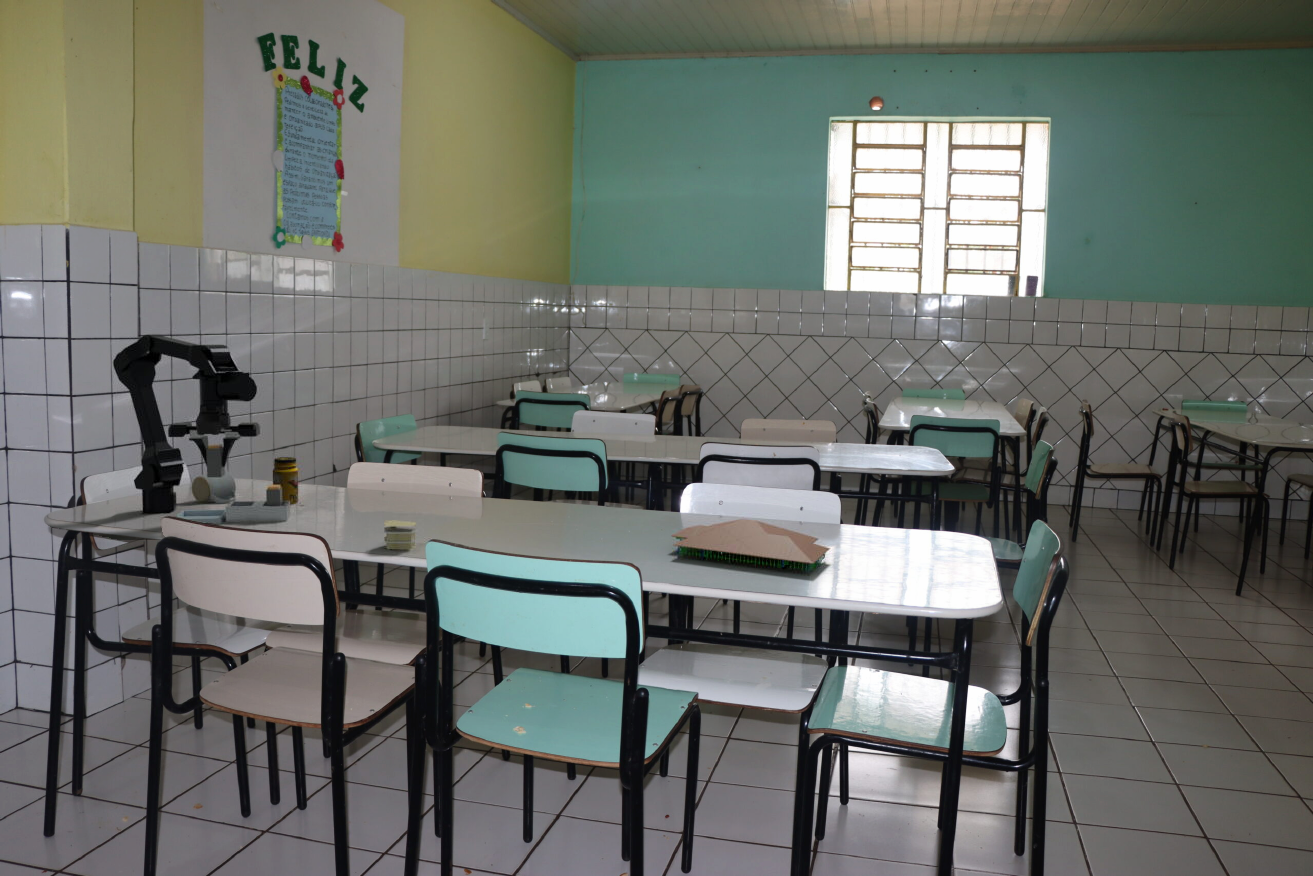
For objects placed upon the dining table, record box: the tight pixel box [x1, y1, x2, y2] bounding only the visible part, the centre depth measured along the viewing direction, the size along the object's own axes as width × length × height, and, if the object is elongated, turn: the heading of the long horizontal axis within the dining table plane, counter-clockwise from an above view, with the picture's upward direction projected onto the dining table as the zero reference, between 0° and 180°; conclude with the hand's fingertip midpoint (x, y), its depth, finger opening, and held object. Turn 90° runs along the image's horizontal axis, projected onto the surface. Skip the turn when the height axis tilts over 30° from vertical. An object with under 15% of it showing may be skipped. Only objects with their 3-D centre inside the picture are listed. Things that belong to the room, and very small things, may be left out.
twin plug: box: [265, 484, 282, 506], centre depth 232 cm, size 3×4×7 cm
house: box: [671, 518, 831, 572], centre depth 213 cm, size 23×33×8 cm
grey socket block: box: [225, 500, 291, 523], centre depth 231 cm, size 13×7×4 cm, turn 104°
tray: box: [176, 509, 226, 525], centre depth 228 cm, size 10×10×2 cm
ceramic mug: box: [191, 470, 237, 504], centre depth 250 cm, size 11×8×8 cm
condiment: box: [272, 456, 305, 507], centre depth 250 cm, size 7×8×12 cm
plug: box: [206, 443, 226, 477], centre depth 227 cm, size 3×4×7 cm
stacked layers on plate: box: [383, 519, 418, 550], centre depth 210 cm, size 10×9×6 cm
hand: (216, 466), depth 227 cm, fingers closed on plug, 3 cm apart
